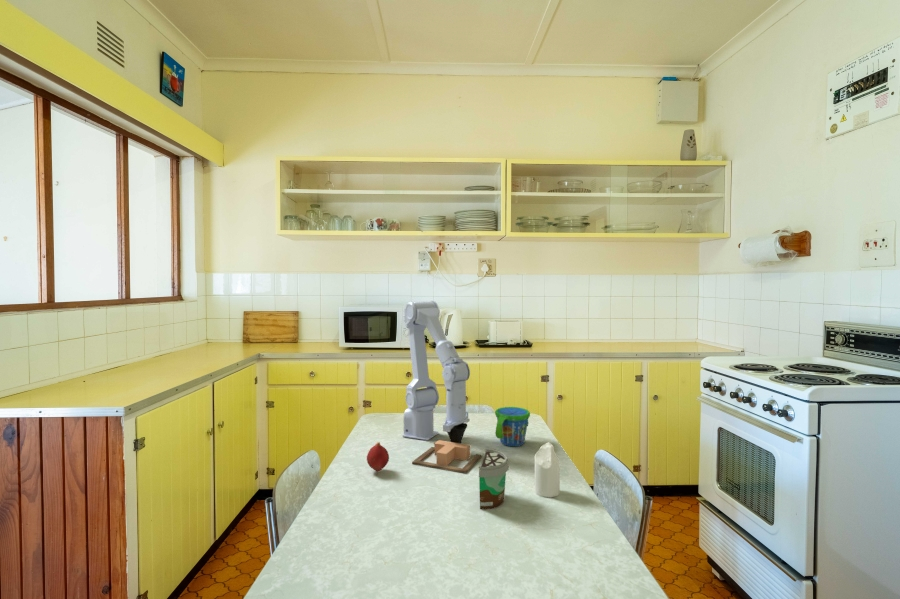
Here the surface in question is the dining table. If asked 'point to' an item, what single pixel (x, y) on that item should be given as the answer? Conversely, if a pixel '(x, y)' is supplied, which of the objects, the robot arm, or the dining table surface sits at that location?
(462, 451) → the T block
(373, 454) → the onion
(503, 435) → the snack cup
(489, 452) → the food container
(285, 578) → the dining table surface
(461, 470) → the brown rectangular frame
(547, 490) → the white piece
